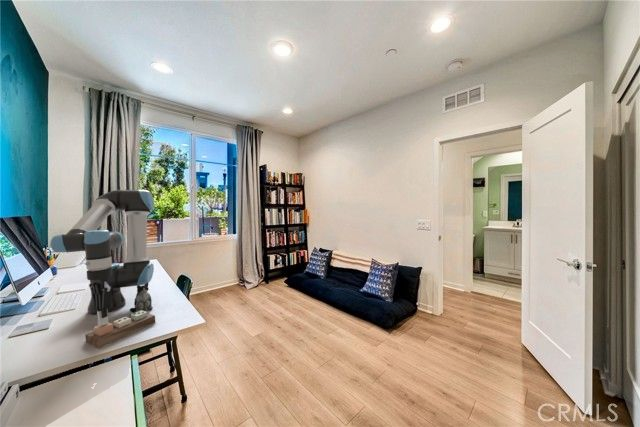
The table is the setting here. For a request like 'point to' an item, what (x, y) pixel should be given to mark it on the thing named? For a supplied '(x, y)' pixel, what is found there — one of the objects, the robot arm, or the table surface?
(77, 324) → the table surface
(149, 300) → the figurine
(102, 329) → the pink toy block
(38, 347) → the table surface
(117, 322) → the tile two
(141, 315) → the tile three
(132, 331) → the board
